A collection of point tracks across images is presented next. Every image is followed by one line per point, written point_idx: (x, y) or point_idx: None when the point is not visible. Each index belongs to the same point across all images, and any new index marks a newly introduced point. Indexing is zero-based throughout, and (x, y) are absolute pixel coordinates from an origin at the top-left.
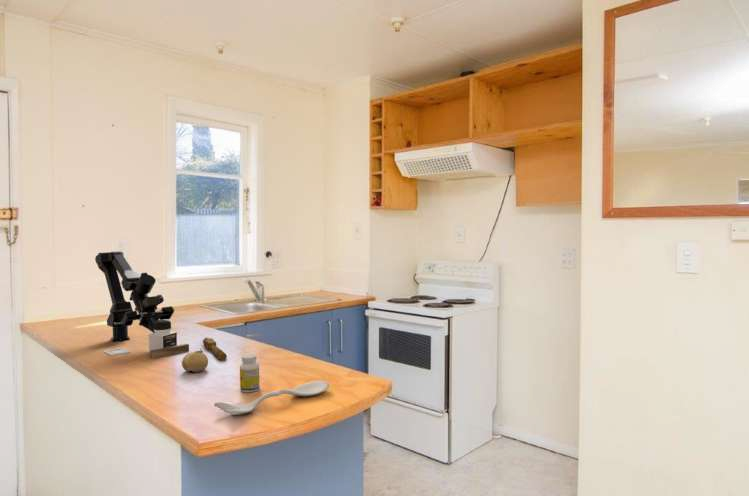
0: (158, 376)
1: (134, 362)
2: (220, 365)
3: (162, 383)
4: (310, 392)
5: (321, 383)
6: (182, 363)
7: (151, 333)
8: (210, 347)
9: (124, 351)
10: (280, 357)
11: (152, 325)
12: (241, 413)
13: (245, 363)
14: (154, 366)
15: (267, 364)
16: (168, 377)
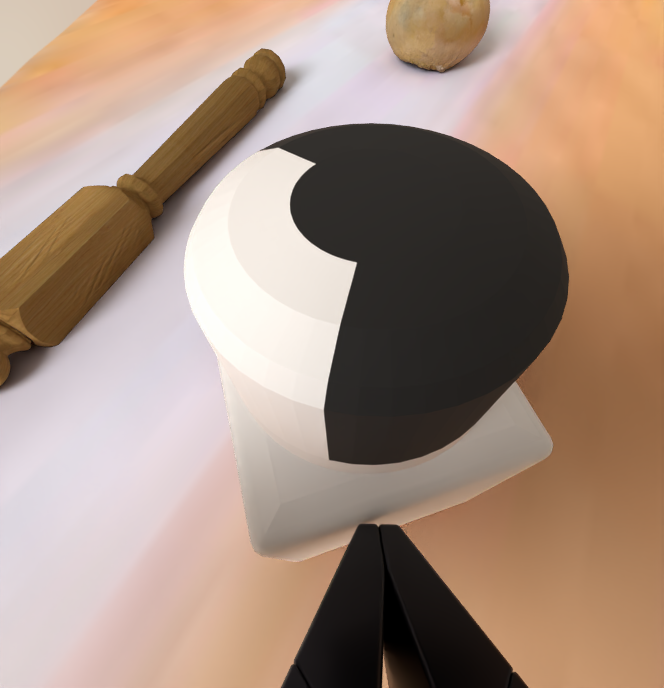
0: (565, 78)
1: (633, 306)
2: (326, 56)
3: (571, 35)
4: None
5: None
6: (488, 17)
7: (512, 437)
8: (159, 190)
9: None
10: (135, 21)
11: (467, 648)
12: None
13: None
14: (542, 174)
15: (228, 5)
16: (536, 58)
